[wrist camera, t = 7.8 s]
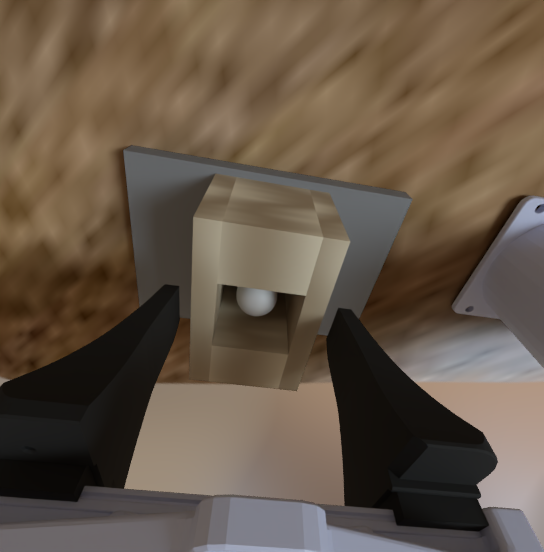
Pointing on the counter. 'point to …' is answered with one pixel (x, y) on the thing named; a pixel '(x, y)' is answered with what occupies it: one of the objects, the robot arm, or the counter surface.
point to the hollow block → (261, 279)
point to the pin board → (200, 172)
